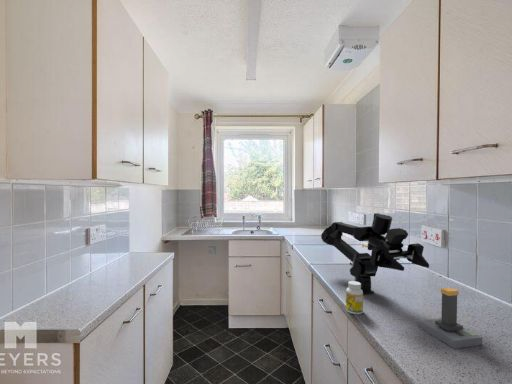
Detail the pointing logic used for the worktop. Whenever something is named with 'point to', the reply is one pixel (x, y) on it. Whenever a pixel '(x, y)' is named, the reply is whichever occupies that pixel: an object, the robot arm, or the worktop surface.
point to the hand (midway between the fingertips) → (416, 267)
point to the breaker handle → (449, 310)
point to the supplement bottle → (354, 298)
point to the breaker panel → (451, 334)
